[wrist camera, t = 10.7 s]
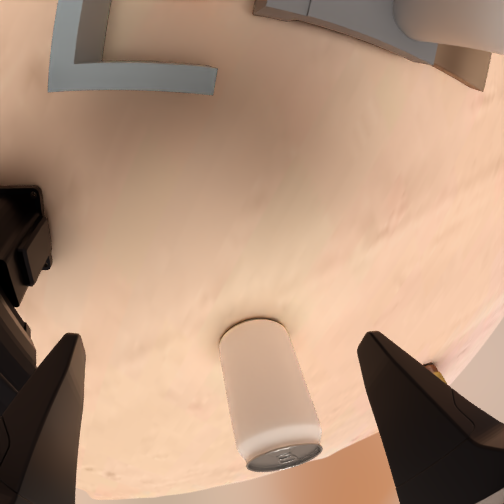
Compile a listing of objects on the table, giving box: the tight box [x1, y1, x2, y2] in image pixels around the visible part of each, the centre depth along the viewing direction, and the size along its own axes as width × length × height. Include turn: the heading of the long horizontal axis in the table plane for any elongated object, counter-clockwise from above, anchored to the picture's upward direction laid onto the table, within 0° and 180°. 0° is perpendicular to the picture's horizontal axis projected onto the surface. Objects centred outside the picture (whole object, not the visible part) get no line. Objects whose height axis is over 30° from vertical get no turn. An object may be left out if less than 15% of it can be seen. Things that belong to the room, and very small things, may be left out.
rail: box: [431, 43, 492, 92], centre depth 16 cm, size 10×4×1 cm, turn 80°
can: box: [219, 319, 323, 472], centre depth 24 cm, size 6×6×12 cm
